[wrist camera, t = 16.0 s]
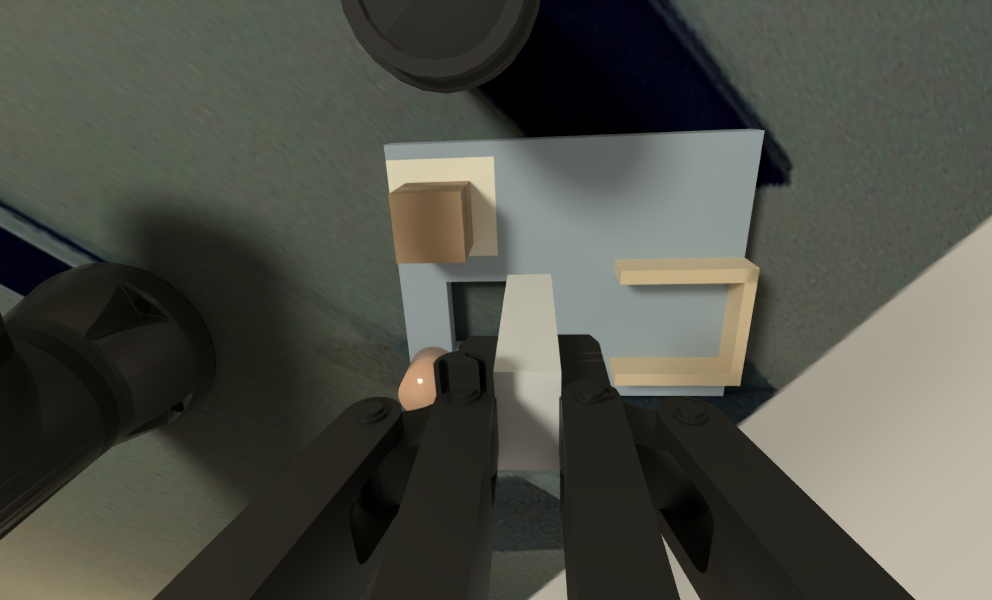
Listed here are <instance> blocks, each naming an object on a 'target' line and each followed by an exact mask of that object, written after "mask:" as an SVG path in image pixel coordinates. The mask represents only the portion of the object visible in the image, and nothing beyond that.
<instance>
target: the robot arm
mask: <svg viewBox="0 0 992 600" xmlns="http://www.w3.org/2000/svg"><path fill="white" fill-rule="evenodd" d="M433 368H434V378H435V387H436V397H435V400H434V403H433V404H430V405H428V406H426V407H422V408H419V409H414V410H409V411H404V412H402V409H401V405H400V404H399V403H398V402H397V401H396V400H394V399H391V398H388V397H371V398H366V399H363V400H361V401H358V402H356V403H354V404H352V405H351V406H349V407H348V408H347V409H345V410H344V411H343V412H342V413H341V414H340V415H339V416H338V417H337V418H336V419H335V420H334V421H333V422H332V423H331V424H330V425H329V426H328V427H327V428H326V429H325V430H324V431H323V432H322V433H321V434H320V435H319V436H318V437H317V438H316V439H315V440H314V441H313V442H312V443H311V444H310V445H309V446H308V447H307V448H306V449H305V450H304V451H303V452H302V453H301V454H300V455H299V456H298V457H297V458H296V459H295V460H294V461H293V462H292V463H291V464H290V465H289V466H287V467H286V468H285V469H284V470H283V471H282V472H281V473H280V474H279V475H278V476H277V477H276V478H275V479H274V480H273V481H272V482H271V483H270V484H269V485H268V486H267V487H266V488H265V489H264V490H263V491H262V492H261V493H260V494H259V495H258V496H257V497H256V498H255V499H254V500H253V501H252V502H251V503H250V504H249V505H248V506H247V507H246V508H245V509H244V510H243V511H242V512H241V513H240V514H239V515H238V516H237V517H236V518H235V519H234V520H233V521H232V522H231V523H230V524H229V525H228V526H227V527H226V528H225V529H224V530H223V531H222V532H221V533H219V534H218V535H217V536H216V537H215V538H214V539H213V540H212V541H211V542H210V543H209V544H208V545H207V546H206V547H205V548H204V549H203V550H202V551H201V552H200V553H199V554H198V555H197V556H196V557H195V558H194V559H193V560H192V561H191V562H190V563H189V564H188V565H187V566H186V567H185V568H184V569H183V570H182V571H181V572H180V573H179V574H178V575H177V576H176V577H175V578H174V579H173V580H172V581H171V582H170V583H169V584H168V585H167V586H166V587H165V588H164V589H163V590H162V591H161V592H160V593H159V594H158V595H157V596H156V597H155V598H154V599H153V600H358V599H359V597H360V596H361V594H362V592H363V591H364V589H365V587H366V586H367V584H368V582H369V581H370V579H371V577H372V576H373V574H374V572H375V571H376V569H377V568H378V566H379V564H380V563H381V561H382V563H381V566H380V569H379V573H378V576H377V579H376V582H375V585H374V588H373V591H372V594H371V597H370V600H488V593H489V582H490V570H491V559H492V547H493V536H494V524H495V513H496V502H497V490H498V477H497V464H498V470H543V471H560V512H562V523H563V538H564V553H565V568H566V583H567V597H568V600H680V597H679V593H678V590H677V587H676V583H675V580H674V576H673V573H672V570H671V566H670V563H669V559H668V556H667V553H666V550H665V546H664V543H663V539H662V536H663V537H664V539H665V541H666V542H667V544H668V546H669V548H670V549H671V551H672V552H673V554H674V556H675V558H676V559H677V561H678V563H679V564H680V566H681V568H682V569H683V571H684V573H685V574H686V576H687V578H688V579H689V581H690V583H691V584H692V586H693V588H694V589H695V591H696V593H697V594H698V596H699V598H700V600H915V599H914V598H913V597H912V596H911V595H910V594H909V593H908V592H907V591H906V590H905V589H904V588H903V587H902V586H901V585H900V584H899V583H898V582H897V581H896V580H895V579H893V578H892V576H890V575H889V574H888V573H887V572H886V571H885V570H884V569H883V568H882V567H881V566H880V565H879V564H878V563H877V562H876V561H875V560H874V559H873V558H872V557H871V556H870V555H868V553H866V551H864V549H863V548H862V547H861V546H860V545H859V544H857V543H856V542H855V541H854V540H853V539H852V538H851V537H850V536H849V535H848V534H847V533H846V532H845V531H844V530H843V529H842V528H841V527H840V526H839V525H838V524H837V523H836V522H835V521H834V520H833V519H832V518H831V517H830V516H829V515H828V514H826V513H825V512H824V511H823V510H822V509H821V508H820V507H819V506H818V505H817V504H816V503H815V502H814V501H813V500H812V499H811V498H810V497H809V496H808V495H807V494H806V493H805V492H804V491H803V490H802V489H801V488H800V487H799V486H798V485H797V484H795V482H794V481H792V480H791V479H790V478H789V477H788V476H787V475H786V474H785V473H784V472H783V471H782V470H781V469H780V468H779V467H778V466H777V465H776V464H775V463H774V462H773V461H772V460H771V459H770V458H769V457H768V456H767V455H765V453H763V451H761V450H760V449H759V448H758V447H757V446H756V445H755V444H754V443H753V442H752V441H751V440H750V439H749V438H748V437H747V436H746V435H745V434H744V433H743V432H742V431H741V430H740V429H739V428H738V427H737V426H736V425H735V424H734V423H733V422H732V421H731V420H730V419H729V418H728V417H726V416H725V415H724V414H723V413H722V412H721V411H720V410H719V409H718V408H716V407H715V406H714V405H712V404H711V403H708V402H706V401H703V400H701V399H698V398H694V397H688V396H675V397H671V398H667V399H664V400H663V401H662V402H661V403H659V404H658V408H657V412H656V411H651V410H646V409H642V408H638V407H634V406H632V405H629V404H627V403H625V402H623V401H622V399H621V396H620V394H619V392H618V391H617V389H616V388H614V387H613V386H611V384H610V380H609V377H608V373H607V369H606V366H605V362H604V359H603V355H602V351H601V348H600V344H599V342H598V341H597V340H596V339H595V338H593V337H592V336H591V335H590V334H557V326H556V317H555V307H554V298H553V288H552V279H551V274H526V275H507V282H506V289H505V296H504V302H503V309H502V316H501V323H500V330H499V336H469V337H468V338H467V339H465V340H464V341H463V342H462V343H461V344H460V346H459V349H458V350H456V351H452V352H449V353H445V354H443V355H442V356H440V357H438V358H437V359H436V360H435V362H434V363H433ZM214 369H215V358H214V351H213V346H212V343H211V340H210V337H209V334H208V332H207V330H206V328H205V326H204V324H203V322H202V321H201V319H200V318H199V316H198V315H197V313H196V312H195V311H194V309H193V308H192V307H191V306H190V304H189V303H188V302H187V301H186V300H185V299H184V298H183V297H182V296H181V295H180V294H179V293H177V292H176V291H175V290H174V289H173V288H171V287H170V286H169V285H167V284H166V283H164V282H163V281H161V280H160V279H158V278H156V277H154V276H152V275H151V274H149V273H146V272H144V271H142V270H139V269H137V268H134V267H130V266H127V265H123V264H117V263H108V262H98V263H89V264H85V265H81V266H78V267H75V268H73V269H70V270H67V271H64V272H62V273H59V274H57V275H54V276H52V277H50V278H49V279H47V280H45V281H44V282H42V283H41V284H39V285H38V286H37V287H36V288H35V289H34V290H33V291H32V292H30V293H29V294H28V295H27V296H26V297H25V298H23V299H22V300H21V301H20V302H19V303H18V304H17V305H15V306H14V307H13V308H12V309H11V310H10V311H9V312H7V313H6V314H5V315H4V316H3V317H2V316H1V313H0V540H1V539H2V538H4V537H5V536H6V535H7V534H8V533H10V532H11V531H12V530H13V529H14V528H16V527H17V526H18V525H19V524H20V523H21V522H23V521H24V520H25V519H26V518H27V517H29V516H30V515H31V514H32V513H33V512H35V511H36V510H37V509H38V508H39V507H41V506H42V505H43V504H44V503H45V502H46V501H48V500H49V499H50V498H51V497H52V496H54V495H55V494H56V493H57V492H58V491H60V490H61V489H62V488H63V487H64V486H66V485H67V484H68V483H69V482H70V481H71V480H73V479H74V478H75V477H76V476H77V475H79V474H80V473H81V472H82V471H83V470H85V469H86V468H87V467H88V466H89V465H91V464H92V463H93V462H94V461H95V460H96V459H98V458H99V457H100V456H101V455H103V454H104V453H105V452H106V451H108V450H109V449H110V448H111V447H113V446H116V445H118V444H120V443H123V442H125V441H128V440H130V439H133V438H135V437H137V436H140V435H142V434H145V433H147V432H150V431H152V430H154V429H157V428H159V427H162V426H164V425H167V424H169V423H171V422H173V421H175V420H176V419H178V418H179V417H181V416H182V415H184V414H185V413H186V412H187V411H188V410H189V409H191V408H192V407H193V406H194V405H195V404H196V403H197V402H198V401H200V400H201V399H202V398H203V396H204V395H205V394H206V392H207V391H208V389H209V387H210V385H211V382H212V379H213V376H214ZM661 534H662V535H661ZM382 559H383V560H382Z"/></svg>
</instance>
